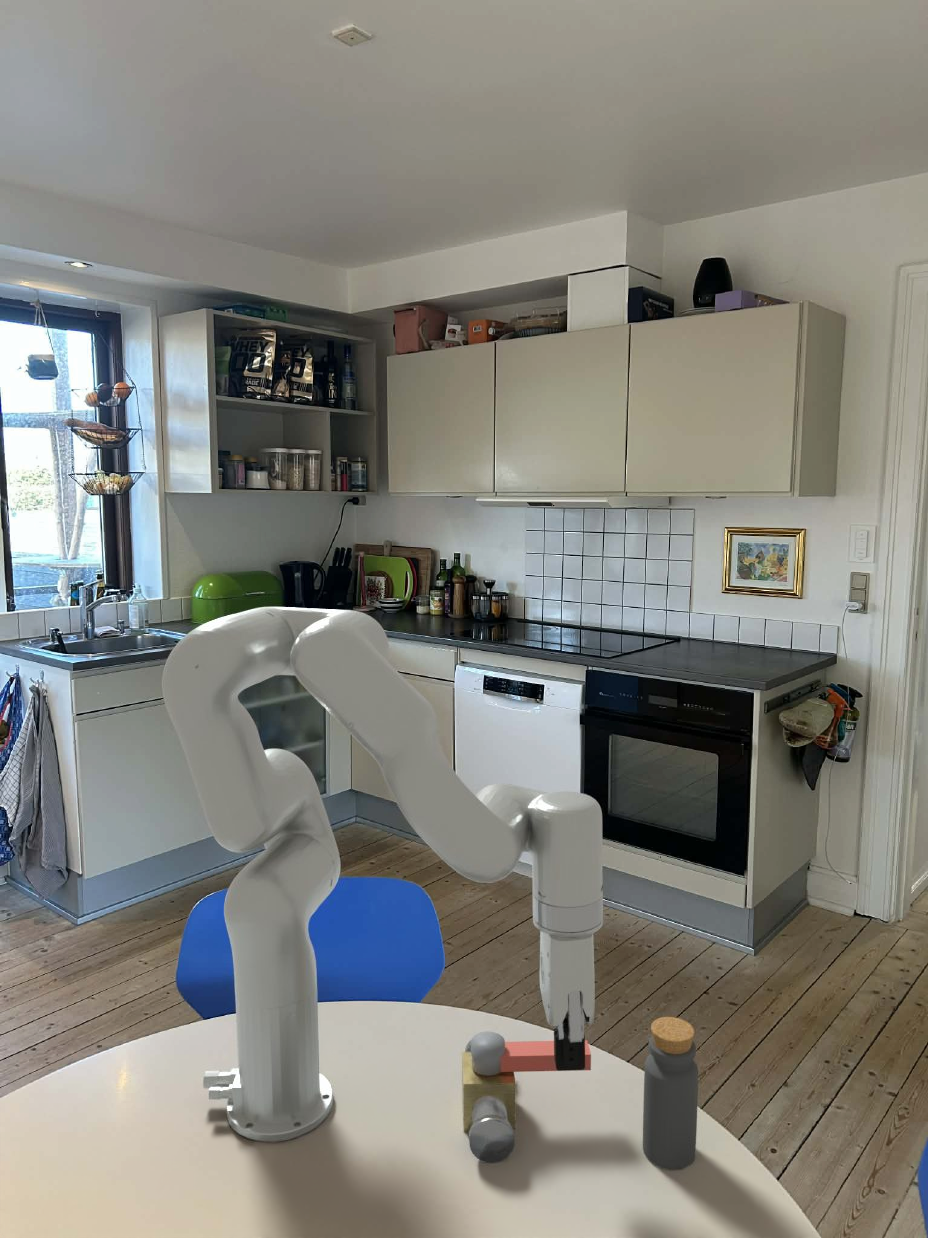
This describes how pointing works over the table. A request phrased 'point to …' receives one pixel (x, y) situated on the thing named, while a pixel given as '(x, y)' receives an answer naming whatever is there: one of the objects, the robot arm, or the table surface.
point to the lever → (514, 1055)
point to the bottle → (670, 1095)
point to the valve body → (488, 1111)
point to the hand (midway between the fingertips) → (569, 1065)
